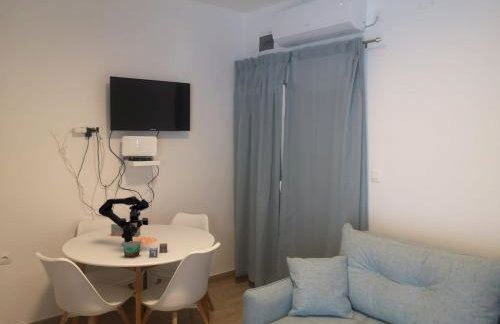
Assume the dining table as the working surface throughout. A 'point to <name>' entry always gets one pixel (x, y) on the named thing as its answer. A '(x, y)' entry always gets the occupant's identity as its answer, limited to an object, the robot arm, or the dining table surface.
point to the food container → (131, 248)
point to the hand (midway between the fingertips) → (133, 232)
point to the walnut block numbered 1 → (163, 248)
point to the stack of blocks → (118, 230)
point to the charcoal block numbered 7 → (153, 252)
